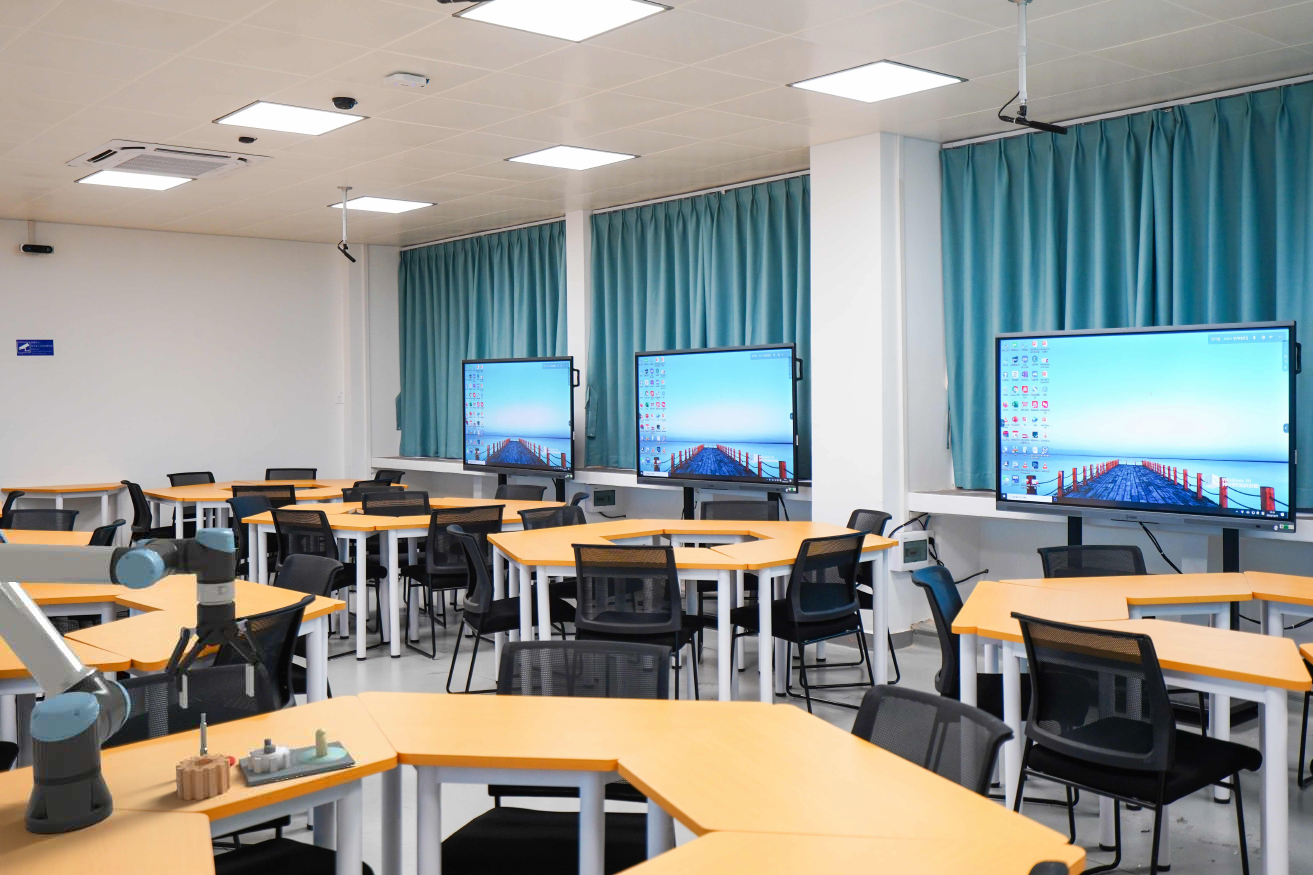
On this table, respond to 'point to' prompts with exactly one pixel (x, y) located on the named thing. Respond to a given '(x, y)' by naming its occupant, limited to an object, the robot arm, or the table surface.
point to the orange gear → (203, 776)
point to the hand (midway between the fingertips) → (217, 700)
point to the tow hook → (204, 742)
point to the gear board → (293, 760)
